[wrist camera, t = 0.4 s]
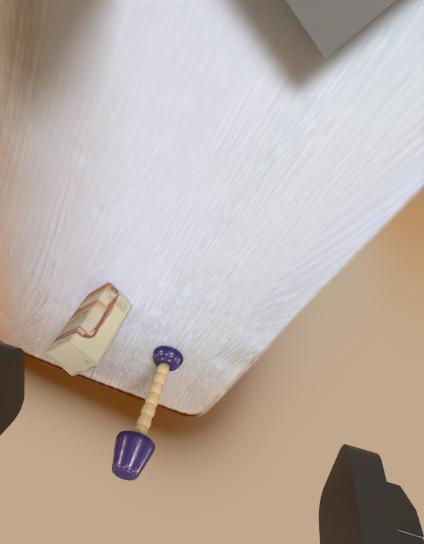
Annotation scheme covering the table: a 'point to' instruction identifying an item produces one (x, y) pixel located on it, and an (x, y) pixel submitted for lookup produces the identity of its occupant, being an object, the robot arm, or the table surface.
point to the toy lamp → (144, 420)
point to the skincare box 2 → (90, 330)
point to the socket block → (335, 19)
